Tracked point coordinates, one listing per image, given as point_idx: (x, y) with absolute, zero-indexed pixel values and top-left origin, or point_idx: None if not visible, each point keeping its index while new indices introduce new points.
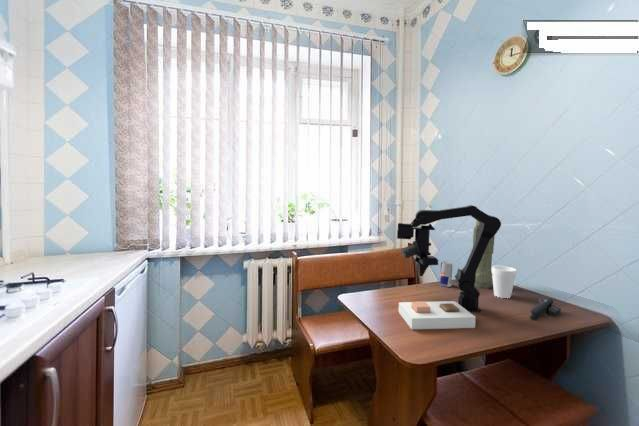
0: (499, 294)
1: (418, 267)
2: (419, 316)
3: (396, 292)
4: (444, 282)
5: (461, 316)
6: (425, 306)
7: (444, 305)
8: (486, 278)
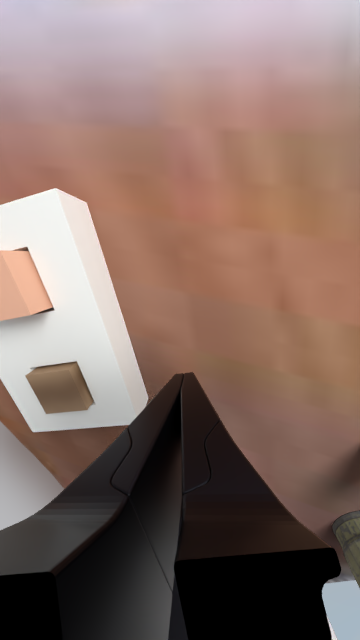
0: None
1: (182, 439)
2: None
3: (327, 218)
4: None
5: (18, 401)
6: None
7: (58, 380)
8: (357, 578)
